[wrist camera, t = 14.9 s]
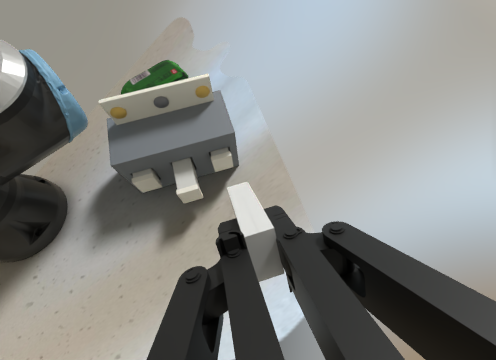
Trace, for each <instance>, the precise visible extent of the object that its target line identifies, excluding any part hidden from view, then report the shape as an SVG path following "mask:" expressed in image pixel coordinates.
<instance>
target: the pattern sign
mask: <svg viewBox="0 0 496 360" xmlns="http://www.w3.org/2000/svg"><path fill="white" fill-rule="evenodd" d="M210 101H214V97H213V93H212V88H211V83H210V78H209V75H208V74H204V75H200V76H196V77H192V78H188V79H184V80H180V81H176V82H171V83H167V84H163V85H159V86H155V87H151V88H147V89H143V90H139V91H134V92H130V93H126V94H122V95H118V96H114V97H110V98H106V99H102V100H99V104H100V105H101V106H102V108H103V109H104V110H105V111H106V112H107V114H108V115H109V116H110V117H111V118H112V120H113V121H114V122H115V123H116V125H119V124H123V123H127V122H131V121H135V120H139V119H143V118H147V117H151V116H155V115H159V114H163V113H166V112H170V111H174V110H178V109H182V108H186V107H190V106H194V105H198V104H202V103H206V102H210Z"/></svg>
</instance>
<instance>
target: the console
mask: <svg viewBox="0 0 496 360" xmlns="http://www.w3.org/2000/svg"><path fill="white" fill-rule="evenodd" d="M212 93H213V97H214V101H210V102H206V103H202V104H198V105H194V106H190V107H186V108H182V109H178V110H174V111H170V112H166V113H163V114H159V115H155V116H151V117H147V118H143V119H139V120H135V121H131V122H127V123H123V124H119V125H116V123H115V122H114V121H113V120H112V118H108V119H107V128H108V140H109V152H110V163H111V166H112V167H113V168H114V169H115V170H116V171H117V172H118V173H119V174H121V175H122V176H123V177H124V178H125V179H126V180H127V181H129V182H130V183H131V184H132V178H133V173H135V172H138V171H142V170H146V169H149V168H153V169H154V171H155V172H156V173H157V174H158V176H159V180H160V182H161V183H162V187H165V186H169V185H172V184H176V179H175V175H174V170H173V165H172V162H175V161H178V160H182V159H186V158H189V157H192V159H193V162H194V166H195V170H196V175H197V177H200V176H204V175H207V174H211V173H214V172H215V170H214V167H213V164H212V161H211V153H210V152H211V151H215V150H218V149H222V148H226V147H228V150H229V151H230V152H231V155H232V161H233V167H235V166H239V162H238V154H237V146H236V138H235V132H234V129H233V126H232V123H231V120H230V117H229V114H228V111H227V109H226V106H225V103H224V100H223V97H222V94H221V91H220V90H219V91H215V92H212ZM132 185H133V186H134V187H135V188H136V189H138V188H137V187H136V186H135V185H134V184H132ZM162 187H161V188H162ZM138 190H139V189H138ZM139 191H140V190H139ZM140 192H141V191H140ZM141 193H143V192H141Z"/></svg>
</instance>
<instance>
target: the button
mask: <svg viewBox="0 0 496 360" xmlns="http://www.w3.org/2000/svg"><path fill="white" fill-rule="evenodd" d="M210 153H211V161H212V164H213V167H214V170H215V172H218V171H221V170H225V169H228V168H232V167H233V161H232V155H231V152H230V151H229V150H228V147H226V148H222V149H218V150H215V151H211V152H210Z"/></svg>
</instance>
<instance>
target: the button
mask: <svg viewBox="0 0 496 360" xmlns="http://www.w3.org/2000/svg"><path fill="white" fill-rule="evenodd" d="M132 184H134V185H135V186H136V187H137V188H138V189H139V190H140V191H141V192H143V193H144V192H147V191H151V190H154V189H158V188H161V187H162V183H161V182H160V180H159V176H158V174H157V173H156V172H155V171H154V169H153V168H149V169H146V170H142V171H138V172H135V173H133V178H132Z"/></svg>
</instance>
